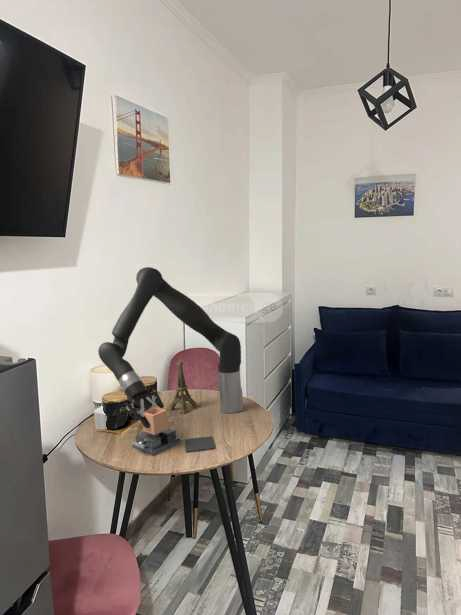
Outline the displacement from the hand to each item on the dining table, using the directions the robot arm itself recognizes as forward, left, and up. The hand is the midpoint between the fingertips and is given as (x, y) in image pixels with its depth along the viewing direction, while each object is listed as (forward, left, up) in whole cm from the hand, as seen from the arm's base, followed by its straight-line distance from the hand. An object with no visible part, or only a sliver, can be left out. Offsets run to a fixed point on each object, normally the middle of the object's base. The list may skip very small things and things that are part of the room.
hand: (156, 423), depth 162 cm
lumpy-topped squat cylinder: (+18, -25, -8) cm, 32 cm away
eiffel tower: (-11, -34, -8) cm, 37 cm away
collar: (0, 0, -3) cm, 3 cm away
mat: (-15, +4, -8) cm, 17 cm away
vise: (0, 0, -8) cm, 8 cm away
